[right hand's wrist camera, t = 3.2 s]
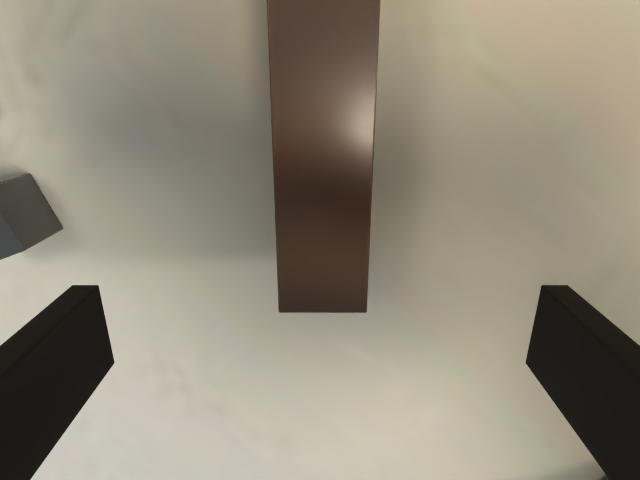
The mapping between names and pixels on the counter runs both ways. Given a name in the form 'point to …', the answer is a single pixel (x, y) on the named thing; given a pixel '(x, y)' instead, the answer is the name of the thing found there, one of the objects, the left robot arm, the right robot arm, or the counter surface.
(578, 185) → the counter surface
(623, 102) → the counter surface
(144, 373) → the counter surface
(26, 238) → the slate cube
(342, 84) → the walnut bar
